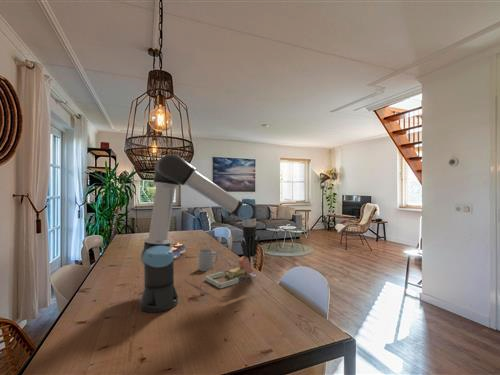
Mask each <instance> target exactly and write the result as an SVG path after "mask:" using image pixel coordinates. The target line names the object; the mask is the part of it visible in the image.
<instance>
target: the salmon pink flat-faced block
mask: <svg viewBox="0 0 500 375" xmlns="http://www.w3.org/2000/svg"><path fill="white" fill-rule="evenodd" d="M237 261H238V262H237V263H238V264H239V267H241V268H244V269H245V274H248V275H249V274H250V273H252V274H253V269H252V268H251V265H250V262H249V259H248V257H246V256H244V255H242V256H241V257H240V258H238V259H237Z"/></svg>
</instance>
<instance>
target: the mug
mask: <svg viewBox="0 0 500 375" xmlns="http://www.w3.org/2000/svg"><path fill="white" fill-rule="evenodd" d="M214 256H215V260H214ZM218 258H219V256H218V253H217V252H216V251H213V249H209V248H208V249H207V248H206V249H200V250H199V251H198V271H199V272H207V271H212V270H213V269H214V264H216V263H217V262H218Z"/></svg>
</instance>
